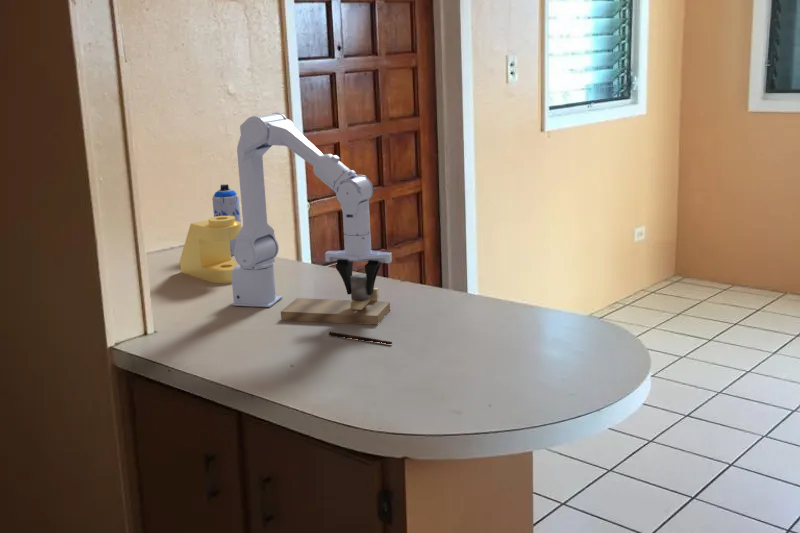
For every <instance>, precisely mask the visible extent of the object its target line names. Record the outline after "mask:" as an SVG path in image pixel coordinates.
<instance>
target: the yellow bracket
mask: <svg viewBox="0 0 800 533" xmlns="http://www.w3.org/2000/svg"><path fill="white" fill-rule="evenodd" d="M241 228H242V222H241V223H240V222H239V221H236V220H235V217H234V216H216V217H214V216H212V217H209V218H208V220H204V221H203V220H202V221H198V222H197V221H196V222H193V223H190V224H189V229H188V231H187V234H186V239H185V242H184V245H183V249H182V252H181V255H180V258H179V265H180V266H179V267H180V273H182V274H185V275H187V276H191V277H195V278H197V279H200V280H204V281H207V282H211V283H213V284H232V272H233V269H234V267H235V266H236V265H239V264H238V263H237V261H236V260H234V259H232V256H231V250H230V240H234V239H236V236H237V234H238V232H239V231H240V229H241Z"/></svg>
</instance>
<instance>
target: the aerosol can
mask: <svg viewBox="0 0 800 533" xmlns="http://www.w3.org/2000/svg"><path fill="white" fill-rule="evenodd" d="M240 206H241V205H240V197H239V194H238V193H237V192H236V191H235V190H233V189H231V188H229V184H220V189H218V190H217V191H215V192H214V194H213V195H212V209H213V211H212V212H213V217H216V216H234V217H235V220H236V221H239V222H240V223H241V224H242V219H241V218H242V217H241V209H240V208H241V207H240ZM235 246H236V239H234V240H230V250H231V257H232V256H234V248H235Z"/></svg>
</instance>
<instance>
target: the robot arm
mask: <svg viewBox="0 0 800 533" xmlns="http://www.w3.org/2000/svg"><path fill="white" fill-rule="evenodd" d="M239 130H240V131H239V132H240V137H239V139H238V142H237V147H236V152H237V153H236V154H237V165H238V166H237V168H238V176H239V177H238V178H239V188H240V190H239V192H240V202H241V203H240V204H241V205H240V206H241V215H242V217H241V218H242V225H241V229H240V231H239V232H238V234H237V236H236V246H235V248H234V255H233V256H234V259H235V261H237V263H238V264H239V265H236V266H235V267H234V269H233V272H232V283H231V285H232V287H231V288H232V297H233V303H232V306H239V307H258V308H270V307H272V306H274V305H275V304H276V303H277V302H278V301H280V300H281V299H282V298H283V295H281V294H280V295H279V294H276V293H277V292H276V291H277V290H276V280H275V268H274V267H275V266H274V263H276V262H275V257H277V255H278V254H279V248H280V247H279V244H278V241H277V239H276V236H275V235H276V234H275V229H274V228H273V227H272V225H270V224H268V214H267V202H266V188H265V186H266V185H265V173H264V172H265V171H264V160H263V156H264V155H265V154H266V153H267V151H269V150H270V149H271V147H272V146H280V147H281V146H284V147H286V148H288V149H289V150H290V151H292V152H293V153H294V154H296V155H297V156H298V157H300V158H301V159H303V160H304V161H305V162H306V163H308V164H309V165H310V166H312V167H313V168H312V170H313V174H314V176H316V177H317V178H318V179H319V181H321V182H323V183H324V184H325V185H326V186H328V188H330V189H331V190H332V191H333V192H334V193H335V196H336V198H337V201H338V202H339V204H340V206H341V212H342V222H343V224H342V225H343V240H344V241H343V243H344V244H343V245H344V249H343V250H328V251H326V252H324V258H325V262H336V264H335V270H336V271H337V272H338V274H339V275H340V277H341V279H342V280H343V285H344V286H345V290H346V294H347V295H351V282H350V276H352V275H353V266H354V264H353V262H357V263H358V262H359V263H360V262H362V263H366V264H365V265H364V270H365V274H366V277H367V294H368V295H372V293H373V289H374V288H375V284H376V280H377V275H378V274H379V270H380V268H381V266H382V263H385V264H391V263H392V261H393V256H392V254H393V253H392V252H387V251H386V252H385V251H379V250H372V241H371V240H372V237H371V221H370V220H371V219H370V218H371V216H370V201H369V200H370V199H371V198H372V197H373V194H374V187H373V183H372V181H371V180H370V179H369V178H368V177H367V175H365V174H356V173H357V172H356V171H355V170H353V169H352V170H351V169H350V168H349V167H348V166H347V165H345V164H344V163H343V162H342V161H340V159H341V158H340V157H339V156H338V155H337V154H335V155H333V154H332V153H325V154H323V153H322V151H321V150H320V149H318V147H317V146H315V144H313V143H312V142H311V141H310V140H308V138H307V137H306V136H305V135H304V134H302V133H301V131H299V130H298V129H297V128H296V127H295V124H294V122H293V121H292V120H291V119H288V118H287V116H285V114H283V113H280V112H273V113H270V114H263V115H258V116H256V115H252V116H250V117H248V118H246V119H245V120H244V122H242V124H240V127H239Z"/></svg>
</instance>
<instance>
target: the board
mask: <svg viewBox="0 0 800 533" xmlns="http://www.w3.org/2000/svg"><path fill="white" fill-rule="evenodd" d="M352 301H353V300H352V299H350V300H349V299H327V298H306V297H305V298H304V297H303V298H302V297H297V298H295V299H294V300H293V301H291V302H290V303H289V304H288V305H287V306H286V307H284V308H283V309H282V310H280V320H281V321H287V320H288V321H289V322H291V321H292V322H311V323H312V322H314V323H329V322H331V323H334V324H350V323H358V324H357V325H371V324H378V323H379V322H380V321H381V320H382V321H383V320H384V318H385V317H386V316H387V315H388V314H387V313H390V311H391V302H390V301H380V300H379V301H370V302H369V303H368V304H367V305H366V306H365V307H364V308H363V309H362V310H352V309H351V302H352ZM389 310H390V311H389ZM386 314H387V315H386ZM385 315H386V316H385ZM384 316H385V317H384ZM382 321H381V322H382ZM381 322H380V323H381ZM359 323H361V324H359ZM380 323H379V324H380ZM379 324H378V325H379Z"/></svg>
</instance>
